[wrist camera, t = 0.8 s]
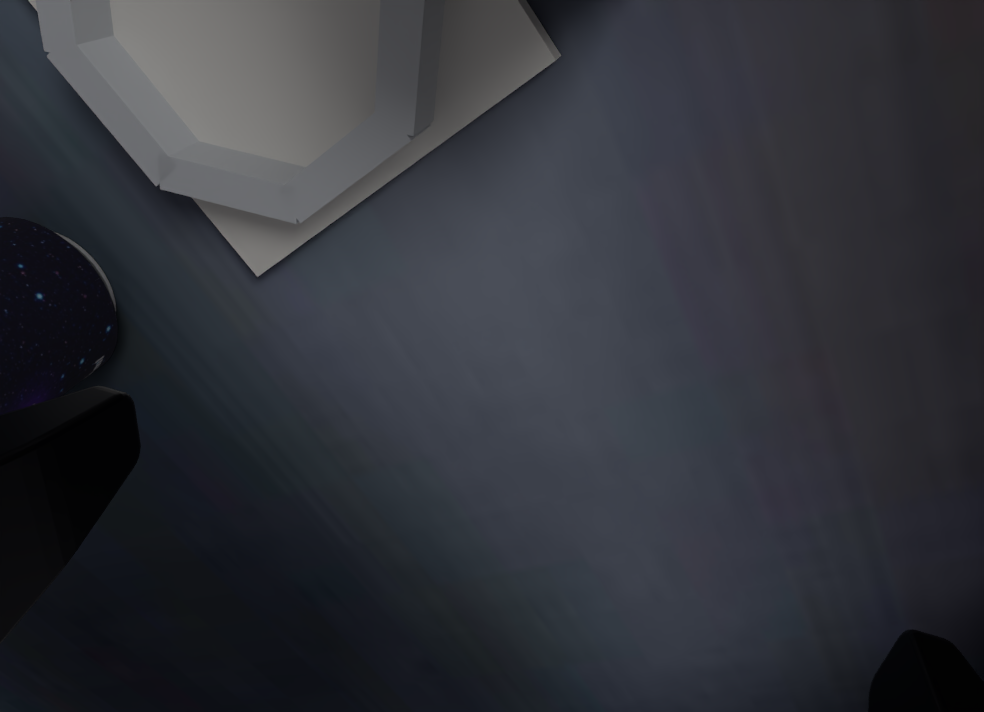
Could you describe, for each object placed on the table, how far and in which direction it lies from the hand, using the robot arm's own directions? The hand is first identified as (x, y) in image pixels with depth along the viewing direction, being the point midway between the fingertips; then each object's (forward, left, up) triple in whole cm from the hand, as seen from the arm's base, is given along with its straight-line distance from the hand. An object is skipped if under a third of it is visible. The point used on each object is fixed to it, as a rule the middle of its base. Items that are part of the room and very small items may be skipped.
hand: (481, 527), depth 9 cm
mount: (+9, +5, -13) cm, 16 cm away
